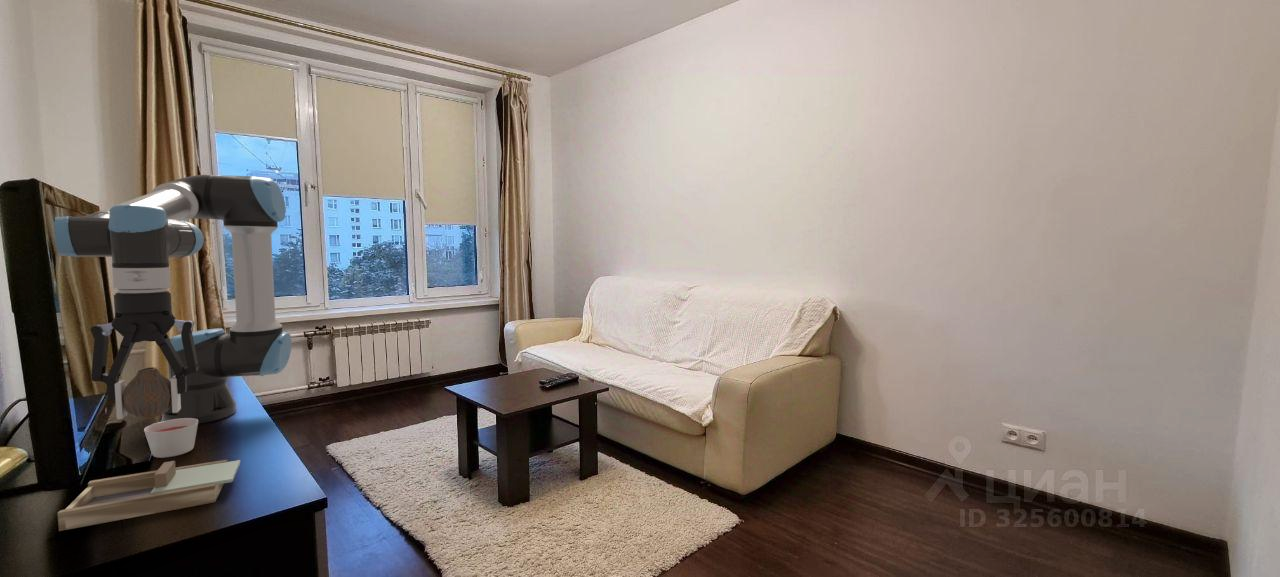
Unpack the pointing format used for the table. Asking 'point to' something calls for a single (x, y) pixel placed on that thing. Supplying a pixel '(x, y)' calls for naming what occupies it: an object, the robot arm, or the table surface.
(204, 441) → the table surface
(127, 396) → the vase
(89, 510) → the wooden box
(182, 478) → the lid
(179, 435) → the candle
